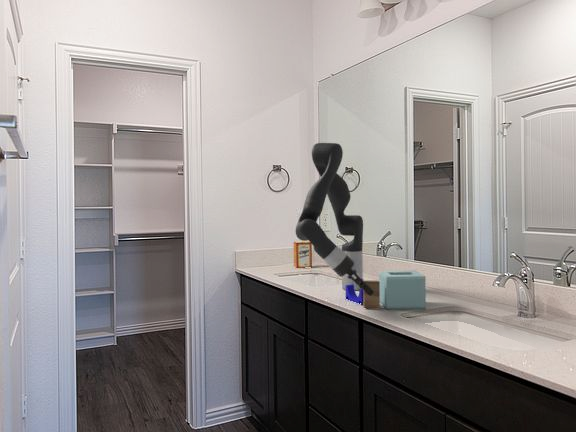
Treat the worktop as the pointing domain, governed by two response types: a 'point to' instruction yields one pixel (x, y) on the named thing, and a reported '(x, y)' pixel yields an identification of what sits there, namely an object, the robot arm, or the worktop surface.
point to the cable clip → (354, 294)
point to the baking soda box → (302, 254)
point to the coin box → (402, 290)
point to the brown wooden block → (374, 299)
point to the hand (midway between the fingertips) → (370, 291)
